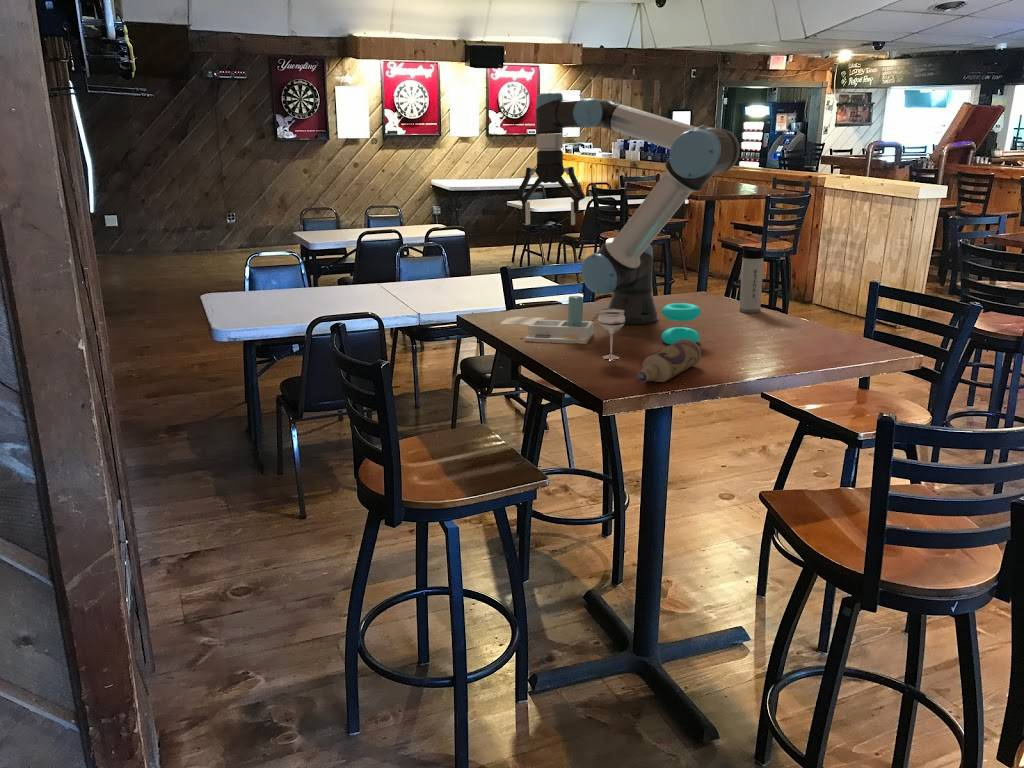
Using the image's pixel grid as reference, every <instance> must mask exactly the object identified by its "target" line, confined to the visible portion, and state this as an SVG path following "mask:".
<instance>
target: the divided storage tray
mask: <svg viewBox="0 0 1024 768" xmlns="http://www.w3.org/2000/svg"><path fill="white" fill-rule="evenodd" d="M527 326H528V329H527V332H528V334H527V335H526V336H525V338H524V342H525V341H530V343H532V342H531V341H533V343H550V342H552V343H554V342H555V343H554V344H575V343H579V344H580V345H581V344H582V345H587V344H588V342H589V341H590V340H591V338H592V336H593V335H594V321H588V320H587V321H585V320H582V327H571V326H568V320H558V319H557V320H556V319H555V320H553V319H545V320H534V321H533V322H532V323H531V324H530V325H527ZM552 343H551V344H552ZM579 344H578V345H579Z"/></svg>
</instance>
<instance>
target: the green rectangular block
mask: <svg viewBox="0 0 1024 768" xmlns="http://www.w3.org/2000/svg"><path fill="white" fill-rule="evenodd" d="M583 307H584V296H580V295H579V296H578V295H570V296H568V307H567V310H568V311H567V321H568V326H571V327H582V321H583V312H584V308H583Z"/></svg>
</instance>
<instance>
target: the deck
mask: <svg viewBox="0 0 1024 768" xmlns="http://www.w3.org/2000/svg"><path fill="white" fill-rule="evenodd" d="M534 320H547V317H538V316H537V317H534V316H533V317H531V316H507V317H506V318H505V319H504V320H502V321H501V322H500V323H499V324H500V325H516V326H517V325H522V326H525V325H526V326H529V325H530V324H531V323H532V322H533V321H534Z"/></svg>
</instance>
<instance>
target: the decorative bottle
mask: <svg viewBox="0 0 1024 768" xmlns="http://www.w3.org/2000/svg"><path fill="white" fill-rule="evenodd" d="M701 358H702V349H701V348H700V346H699V345H698V344H697V343H695V342H693V341H691V340H687V339H682V340H678V341H677V342H676V343H673V344H671V345H670V344H669V345H667V346H666V347H664V348H663V349H660V350H658V351H656V352H654V353H652V354H650V355H649V356H647V357H645V359H644V360H643V362H642V365H641V370H639V371H638V372H637V374H636V375H635V380H636V382H638V383H652V382H653V381H656V382H662V383H665V382H667V381H669V380H670V379H672V378H674V377H676V376H677V375H679V374H680V373H681V374H682V373H683V372H684V371H686V370H687V369H689V368H691V367H693V366H695V365H697V364H698V363H699V362H700V361H701ZM651 381H652V382H651ZM656 382H655V383H656Z"/></svg>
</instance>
